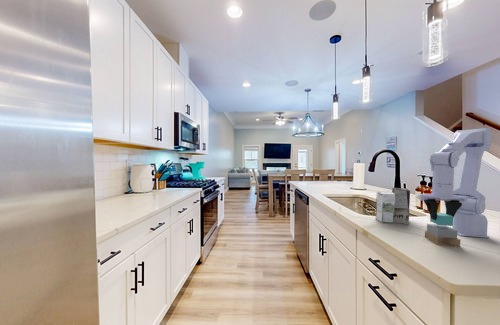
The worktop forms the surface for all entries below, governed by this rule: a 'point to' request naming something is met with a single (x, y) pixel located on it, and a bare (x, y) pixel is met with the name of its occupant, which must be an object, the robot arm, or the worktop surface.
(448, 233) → the grey middle block
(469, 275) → the worktop surface
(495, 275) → the worktop surface
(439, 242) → the walnut base block
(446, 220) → the teal block
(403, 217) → the coffee box
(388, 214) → the syrup box
